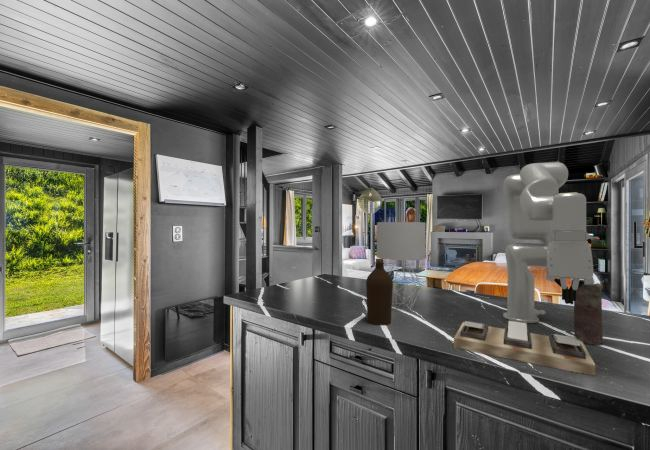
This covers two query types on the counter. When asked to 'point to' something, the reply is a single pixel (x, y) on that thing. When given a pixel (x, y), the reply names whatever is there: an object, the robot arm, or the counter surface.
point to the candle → (588, 314)
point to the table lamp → (401, 247)
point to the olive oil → (379, 295)
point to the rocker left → (475, 325)
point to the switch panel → (525, 348)
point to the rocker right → (566, 340)
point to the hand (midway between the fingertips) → (568, 303)
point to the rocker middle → (517, 331)
